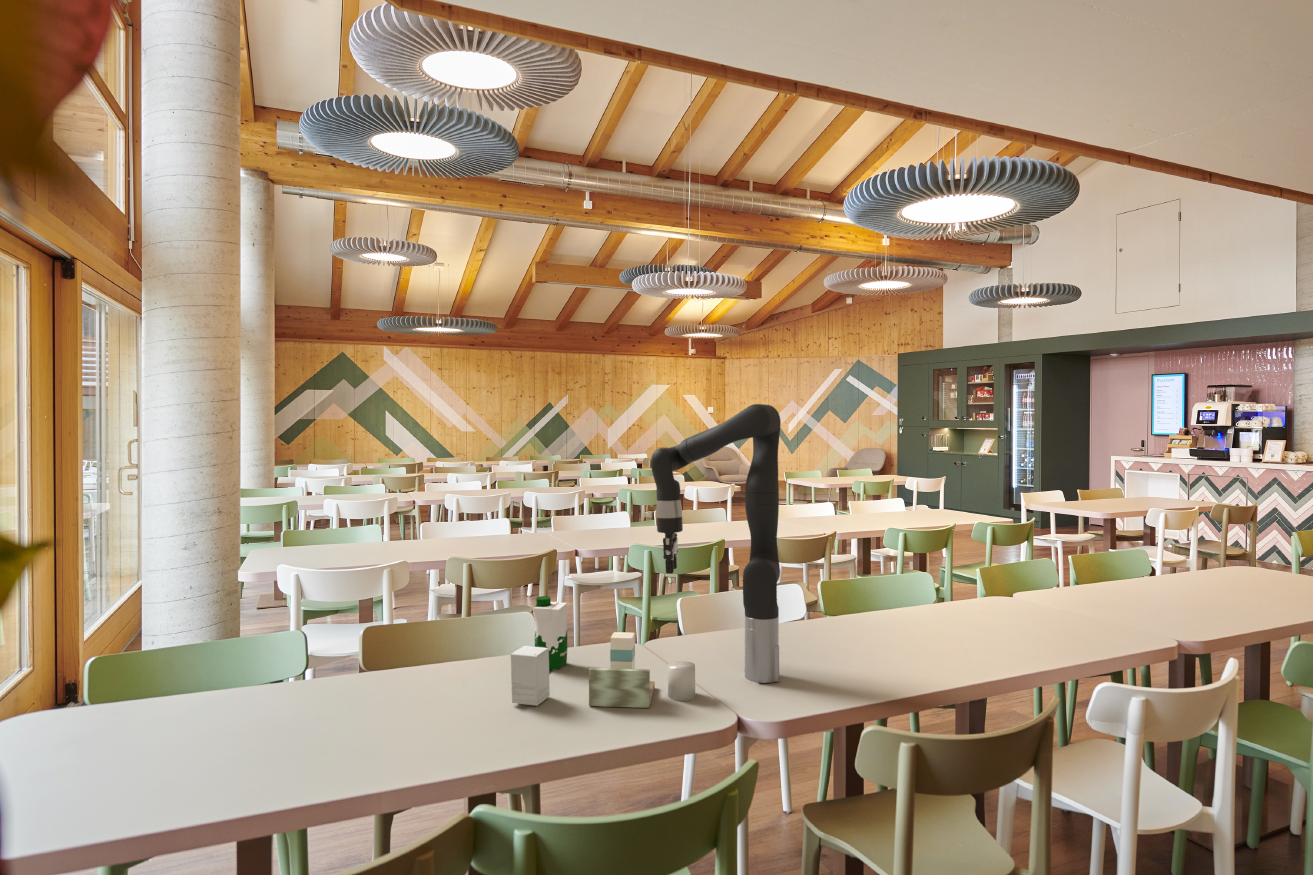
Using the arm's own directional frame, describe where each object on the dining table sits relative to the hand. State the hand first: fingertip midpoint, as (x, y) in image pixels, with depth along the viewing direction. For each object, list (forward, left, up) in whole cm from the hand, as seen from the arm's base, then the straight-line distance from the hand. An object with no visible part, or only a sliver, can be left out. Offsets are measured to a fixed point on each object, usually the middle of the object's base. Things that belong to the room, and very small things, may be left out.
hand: (671, 571), depth 227 cm
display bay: (+10, +30, -27) cm, 42 cm away
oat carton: (+10, +29, -25) cm, 40 cm away
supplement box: (+33, +34, -27) cm, 55 cm away
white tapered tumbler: (-5, +28, -27) cm, 39 cm away
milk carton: (+34, +7, -27) cm, 44 cm away
